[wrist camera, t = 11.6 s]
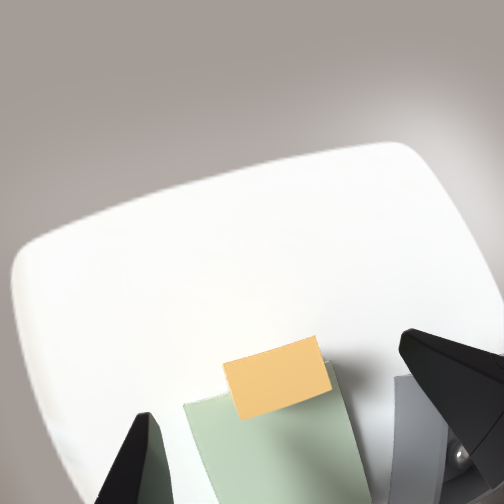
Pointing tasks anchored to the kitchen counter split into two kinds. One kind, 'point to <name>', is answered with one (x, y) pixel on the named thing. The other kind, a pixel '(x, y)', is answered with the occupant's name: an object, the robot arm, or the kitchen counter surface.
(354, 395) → the kitchen counter surface
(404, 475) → the tub
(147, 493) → the robot arm
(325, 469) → the lid
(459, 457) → the grey metallic ball
